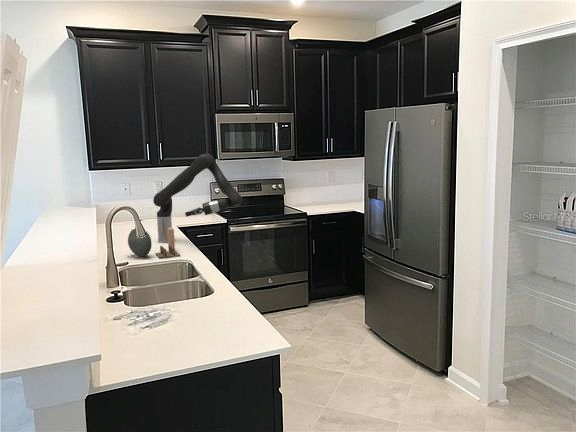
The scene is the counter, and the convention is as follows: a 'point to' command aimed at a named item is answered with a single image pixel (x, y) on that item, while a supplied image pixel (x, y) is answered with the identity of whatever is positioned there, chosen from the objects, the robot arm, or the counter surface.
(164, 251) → the walnut rack
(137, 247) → the dark green ellipsoid
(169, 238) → the terracotta card
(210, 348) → the counter surface
